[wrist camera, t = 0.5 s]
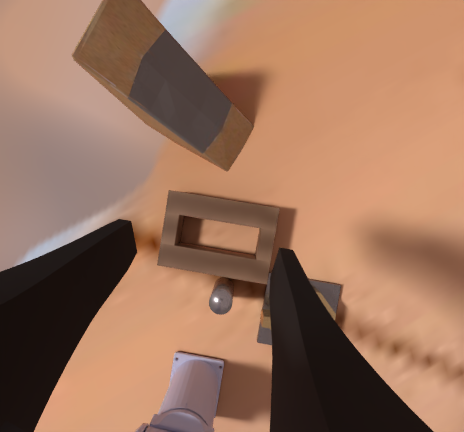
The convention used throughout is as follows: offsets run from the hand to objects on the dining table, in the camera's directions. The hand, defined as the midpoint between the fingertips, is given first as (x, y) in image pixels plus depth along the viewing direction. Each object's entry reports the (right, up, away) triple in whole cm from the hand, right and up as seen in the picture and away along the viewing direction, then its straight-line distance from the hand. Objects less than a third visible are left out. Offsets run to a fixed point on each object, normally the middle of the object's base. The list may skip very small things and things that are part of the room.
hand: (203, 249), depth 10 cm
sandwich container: (-4, +16, +23) cm, 28 cm away
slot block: (-1, -1, +23) cm, 23 cm away
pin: (0, -9, +23) cm, 25 cm away
